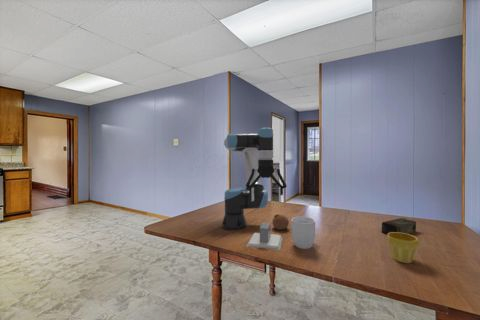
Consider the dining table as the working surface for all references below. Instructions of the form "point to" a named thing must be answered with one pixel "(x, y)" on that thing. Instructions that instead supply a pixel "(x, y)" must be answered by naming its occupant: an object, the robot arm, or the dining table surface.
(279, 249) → the mat
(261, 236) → the lid
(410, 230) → the beverage carton
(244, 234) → the dining table surface
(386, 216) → the dining table surface
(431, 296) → the dining table surface
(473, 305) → the dining table surface
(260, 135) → the robot arm
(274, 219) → the onion
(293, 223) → the mug
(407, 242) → the plant pot
